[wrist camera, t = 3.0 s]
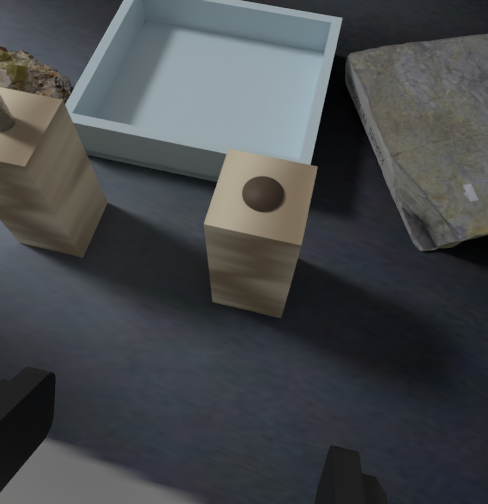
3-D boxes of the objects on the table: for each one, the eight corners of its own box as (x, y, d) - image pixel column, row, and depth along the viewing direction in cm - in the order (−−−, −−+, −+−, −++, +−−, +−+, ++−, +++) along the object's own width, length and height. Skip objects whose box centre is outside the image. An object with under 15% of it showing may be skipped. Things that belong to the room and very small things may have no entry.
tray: (72, 151, 36) (56, 119, 33) (141, 18, 43) (133, -19, 40) (302, 199, 34) (309, 170, 31) (334, 53, 41) (342, 18, 38)
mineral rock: (-92, 102, 35) (-53, 11, 37) (-55, 129, 39) (-22, 46, 41) (43, 133, 35) (77, 39, 36) (66, 156, 39) (95, 72, 40)
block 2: (212, 302, 31) (203, 222, 22) (229, 242, 33) (228, 147, 24) (281, 318, 30) (301, 244, 21) (294, 256, 32) (317, 165, 23)
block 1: (20, 243, 32) (-130, 67, 19) (48, 189, 34) (-70, -3, 21) (83, 257, 32) (-26, 88, 18) (107, 202, 34) (26, 14, 21)
